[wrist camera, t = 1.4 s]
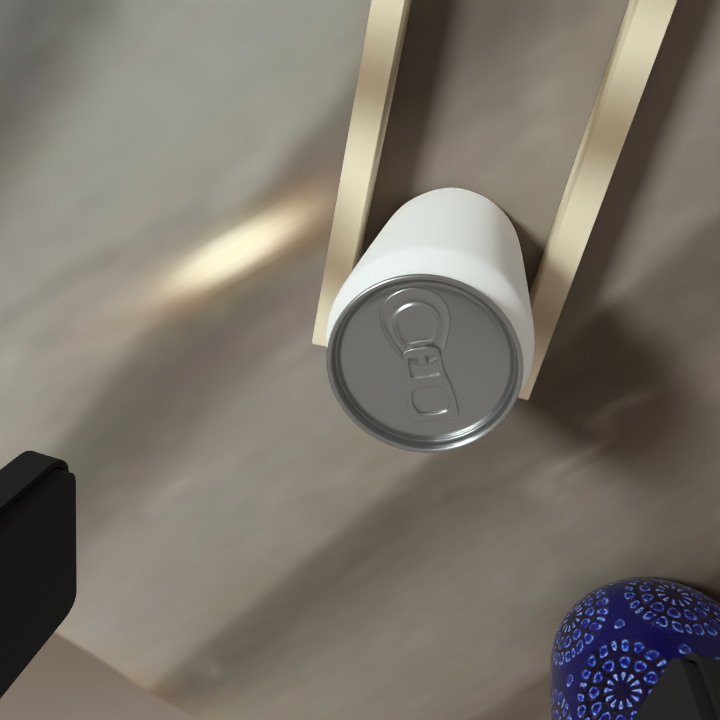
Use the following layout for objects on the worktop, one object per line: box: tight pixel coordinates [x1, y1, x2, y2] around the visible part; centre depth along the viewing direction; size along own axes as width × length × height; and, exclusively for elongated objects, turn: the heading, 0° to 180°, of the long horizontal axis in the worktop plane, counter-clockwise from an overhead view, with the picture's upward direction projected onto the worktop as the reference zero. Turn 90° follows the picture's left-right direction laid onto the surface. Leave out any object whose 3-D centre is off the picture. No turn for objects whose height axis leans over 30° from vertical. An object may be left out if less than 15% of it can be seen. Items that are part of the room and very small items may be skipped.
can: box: [326, 188, 535, 453], centre depth 23 cm, size 6×6×12 cm
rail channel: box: [312, 0, 677, 400], centre depth 23 cm, size 24×10×5 cm, turn 169°
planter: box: [550, 578, 720, 720], centre depth 30 cm, size 11×11×11 cm
